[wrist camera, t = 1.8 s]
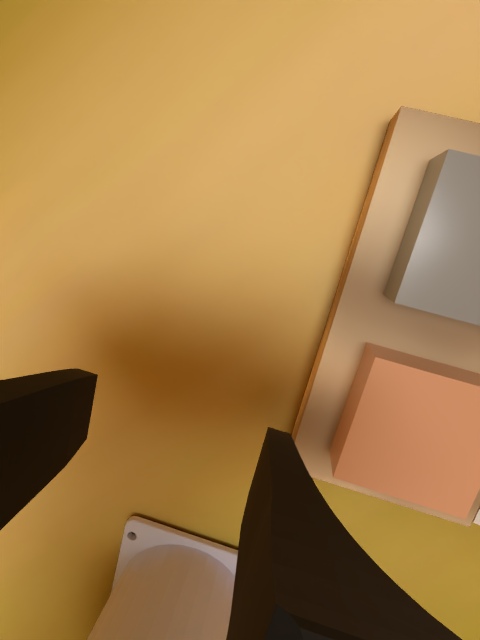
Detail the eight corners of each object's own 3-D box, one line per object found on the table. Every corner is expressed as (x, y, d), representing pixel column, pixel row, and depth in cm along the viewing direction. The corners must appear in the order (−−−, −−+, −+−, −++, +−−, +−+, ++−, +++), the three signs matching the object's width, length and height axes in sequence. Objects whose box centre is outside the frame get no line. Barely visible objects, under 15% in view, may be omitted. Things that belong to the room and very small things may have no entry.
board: (452, 496, 19) (469, 527, 17) (288, 446, 20) (286, 469, 18) (598, 168, 15) (641, 158, 13) (389, 121, 16) (401, 106, 14)
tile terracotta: (446, 486, 17) (465, 519, 15) (329, 449, 17) (333, 477, 15) (494, 377, 16) (521, 398, 14) (366, 342, 16) (375, 357, 14)
